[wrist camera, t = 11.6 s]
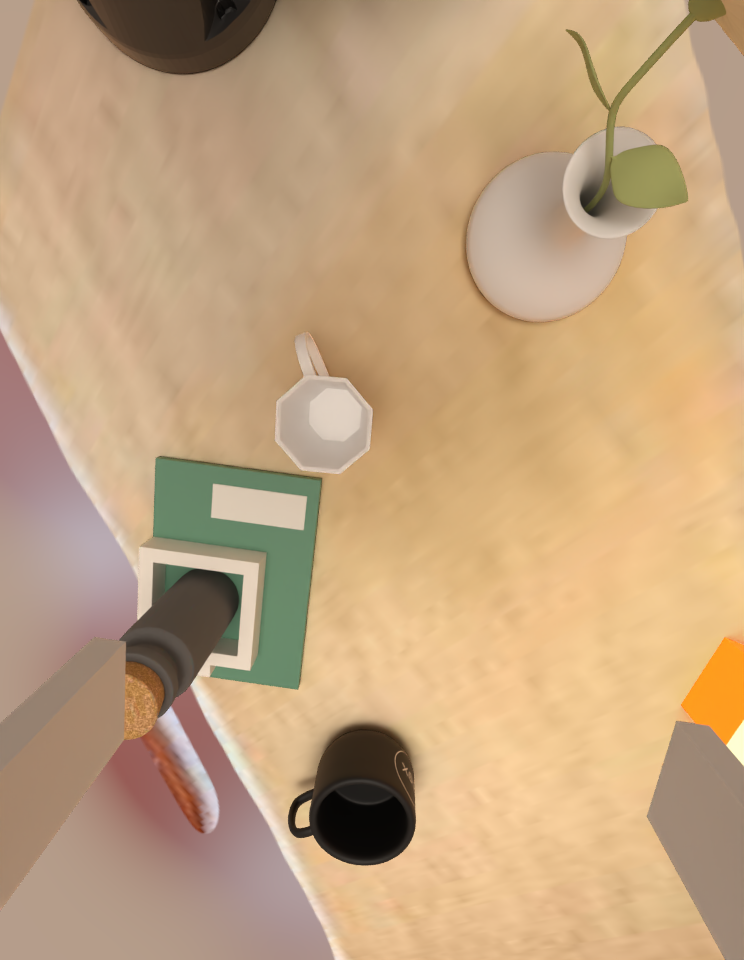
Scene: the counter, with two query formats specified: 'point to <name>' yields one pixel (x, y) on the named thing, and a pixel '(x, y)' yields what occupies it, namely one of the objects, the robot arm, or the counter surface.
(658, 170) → the flower in vase
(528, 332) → the counter surface
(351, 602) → the counter surface
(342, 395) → the cup
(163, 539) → the board
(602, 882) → the counter surface
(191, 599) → the bottle
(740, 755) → the orange juice
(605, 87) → the counter surface
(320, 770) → the mug
